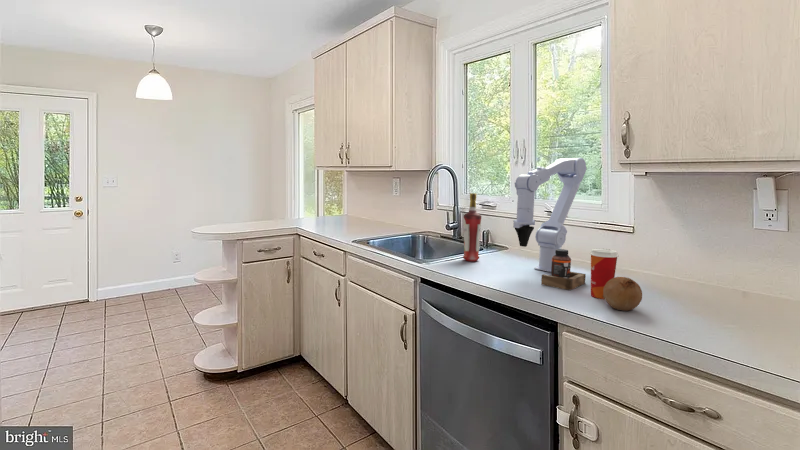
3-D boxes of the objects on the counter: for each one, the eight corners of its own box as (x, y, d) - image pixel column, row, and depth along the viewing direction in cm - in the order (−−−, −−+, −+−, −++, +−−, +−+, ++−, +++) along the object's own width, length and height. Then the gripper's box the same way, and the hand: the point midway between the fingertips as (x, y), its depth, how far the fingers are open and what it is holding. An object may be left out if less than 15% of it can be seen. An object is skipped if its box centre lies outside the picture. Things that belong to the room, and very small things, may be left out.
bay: (557, 278, 148) (557, 269, 148) (585, 283, 142) (585, 274, 141) (541, 284, 139) (541, 275, 139) (570, 290, 133) (570, 280, 132)
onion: (631, 324, 112) (645, 296, 106) (595, 308, 116) (606, 281, 111) (637, 303, 119) (650, 276, 113) (602, 289, 123) (613, 263, 117)
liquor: (461, 258, 180) (462, 192, 177) (478, 258, 180) (480, 193, 177) (463, 262, 173) (465, 193, 169) (481, 262, 173) (483, 194, 169)
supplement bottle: (570, 286, 138) (572, 251, 136) (551, 284, 139) (553, 250, 138) (568, 281, 143) (570, 248, 142) (549, 280, 145) (551, 248, 144)
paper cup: (592, 291, 132) (595, 247, 130) (619, 296, 127) (622, 250, 125) (582, 296, 127) (585, 250, 125) (609, 302, 121) (613, 254, 119)
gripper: (522, 206, 159) (520, 242, 160) (506, 208, 148) (504, 247, 149) (541, 208, 154) (539, 244, 156) (525, 210, 143) (523, 249, 145)
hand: (523, 246), depth 152 cm, fingers closed
